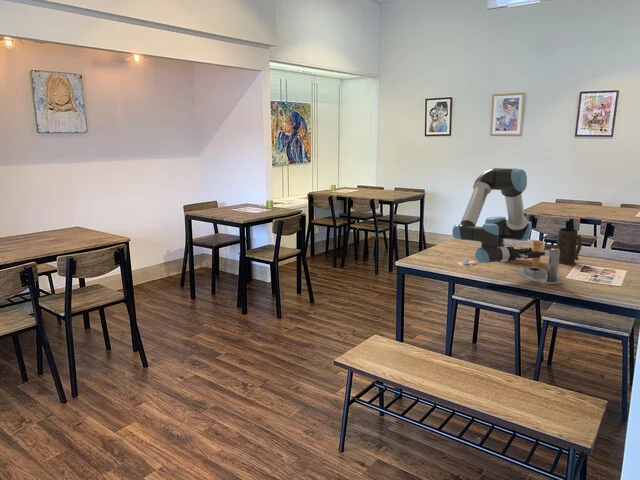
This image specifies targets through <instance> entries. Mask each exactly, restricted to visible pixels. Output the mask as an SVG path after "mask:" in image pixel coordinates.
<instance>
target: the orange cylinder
mask: <svg viewBox="0 0 640 480" xmlns="http://www.w3.org/2000/svg"><path fill="white" fill-rule="evenodd" d="M532 244H533V248H532V249H533V252H534V251H541V249H542V245H543V241H542V240H532ZM540 260H541V257H540V258H531V267H538V268H540V263H541V262H540Z"/></svg>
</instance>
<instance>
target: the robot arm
mask: <svg viewBox="0 0 640 480" xmlns="http://www.w3.org/2000/svg"><path fill="white" fill-rule="evenodd" d="M527 185H528V177H527V172H526V171H525V170H524V169H520V168H503V167H502V168H500V167H498V168H497V167H493V168H490V169H487V170H485V171H483V172H482V173H481V174H480V175H479V176H478V177H477V178H476V180H475V181H474V183H473V185H472V189H473V191H472V193H471V195H470V198H469V201H468V204H467V206H466V208H465V211H464V214H463V216H462V218H461V221H460V224H459V223H458V224H457V223H456V224H455V225H453V228H452V233H451V235H452V237H453V238H454V239H456V240H461V241H470V242H479V243H480V245H481V246H480V247H478V248H477V249H476V251H475V254H474V255H475V260H476V261H477V262H478V263H480V264H481V263H484V264H490V263H499V264H501V263H502V262H514V261H516V259H524V260H527V259H532V258H540V259H541V257H549V254H550V249H549V250H548V249H546V250H545V249H544V248H542V247H541V251H534V252H533V248H532V247H531V246H530V247H524V248H523V247H521V248H515V247H514V246H505V242H504V241H505V240H512V241H520V242H521V241H522V242H527V241H528V240H530V235H531V231H532V226H533V223H532V221H529V220H528V218H527V217H526V216H525V211H524V202H523V195H522V194H523V193H524V192H525V190H526V189H527ZM493 190H494V191H500V193H501V194H502V196H504V200H505V205H506V212H507V219H506V217H505V216H501V215H500V216H491V217H486V218H485V221H484V223H483V225H482V226H477V223H478V222H479V221H478V220H479V217H480V215H481V213H482V210H483V208H484V205H485V202H486V199H487V197H488V195H489V194H491V192H492V191H493Z"/></svg>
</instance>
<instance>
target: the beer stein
mask: <svg viewBox="0 0 640 480" xmlns="http://www.w3.org/2000/svg"><path fill="white" fill-rule="evenodd" d="M582 246H583V245H582V235H580V234H579V233H578V230H577V229H575V228H574V229H573V228H565V227H562V228H559V229H558V235H557V239H556V247H555V248H557V249H560V255H559V264H562V265H573V264H575V263H576V261H579V254H580V252H581V250H582Z"/></svg>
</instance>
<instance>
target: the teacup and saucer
mask: <svg viewBox="0 0 640 480" xmlns="http://www.w3.org/2000/svg"><path fill="white" fill-rule="evenodd" d="M457 263H458V265H460V266H465V267H469V266H473V265H475V264H476V261H474V260H470V258H469V257H468V256H467V257H466V256H463V257H461V258H460V262H457Z"/></svg>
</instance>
